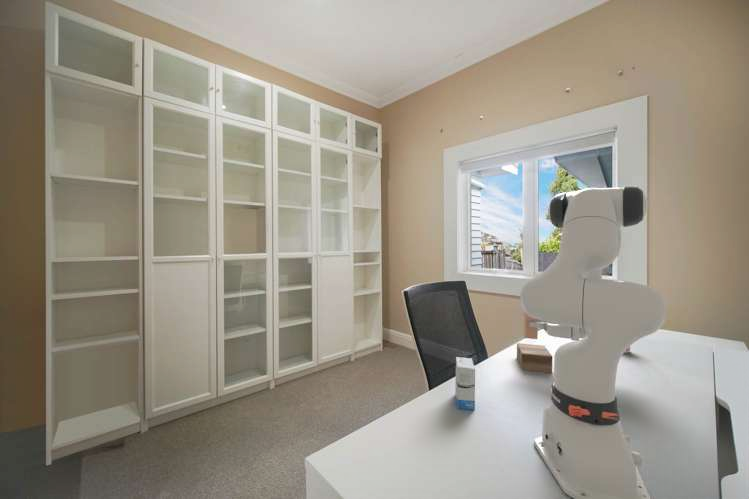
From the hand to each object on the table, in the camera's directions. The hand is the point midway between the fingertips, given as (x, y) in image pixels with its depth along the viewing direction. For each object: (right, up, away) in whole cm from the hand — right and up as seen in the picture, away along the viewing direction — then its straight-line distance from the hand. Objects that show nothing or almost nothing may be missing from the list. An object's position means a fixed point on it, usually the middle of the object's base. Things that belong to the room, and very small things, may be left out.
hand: (527, 322), depth 113 cm
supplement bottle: (+51, -18, +21) cm, 58 cm away
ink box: (-31, -18, -24) cm, 43 cm away
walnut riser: (+4, -17, +4) cm, 18 cm away
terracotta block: (+1, -6, 0) cm, 6 cm away
